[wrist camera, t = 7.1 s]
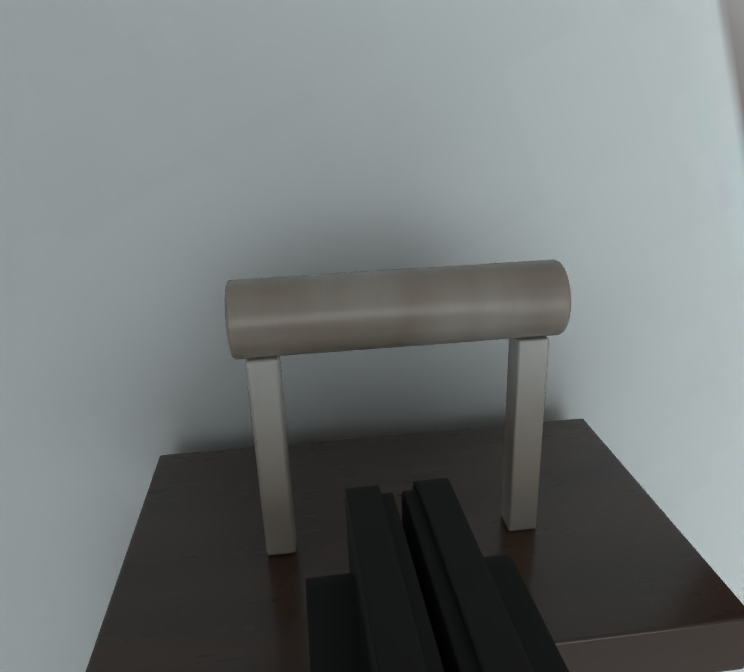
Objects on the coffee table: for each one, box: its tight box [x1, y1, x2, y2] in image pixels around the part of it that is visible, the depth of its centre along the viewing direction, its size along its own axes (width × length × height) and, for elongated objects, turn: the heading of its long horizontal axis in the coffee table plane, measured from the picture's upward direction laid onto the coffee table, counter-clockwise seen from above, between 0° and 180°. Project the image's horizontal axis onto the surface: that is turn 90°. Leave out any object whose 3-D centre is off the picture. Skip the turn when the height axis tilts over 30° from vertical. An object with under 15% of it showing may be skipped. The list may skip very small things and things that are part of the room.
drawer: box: [86, 260, 744, 672], centre depth 15 cm, size 18×11×7 cm, turn 2°
